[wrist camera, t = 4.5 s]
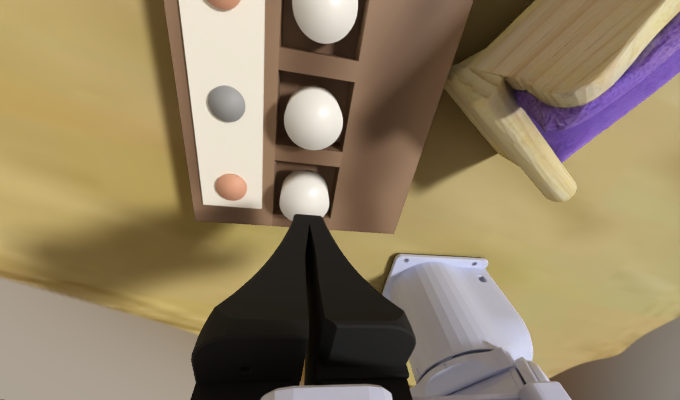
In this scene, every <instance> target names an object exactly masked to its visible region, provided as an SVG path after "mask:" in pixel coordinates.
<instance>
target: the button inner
mask: <svg viewBox="0 0 680 400" xmlns="http://www.w3.org/2000/svg"><path fill="white" fill-rule="evenodd" d="M279 205H280V209H281V211H282V213H283V214H284V216H285V217H287V218H288V219H289V220H291V221H293V217H294V215H295V214H304V215H316V216H322V217H323V216H324V215H325V214H326V213H327V211H328V208H329V196H328V188H327V184H326V181H325V180H324V178H323V177H322V176H321V175H320V174H318V173H316V172H314V171H311V170H297V171H294V172H292V173H291V174H289V175H288V176H287V177H286V178H285V180H284V182H283V184H282V189H281V195H280V202H279Z"/></svg>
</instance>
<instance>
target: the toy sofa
mask: <svg viewBox="0 0 680 400" xmlns="http://www.w3.org/2000/svg"><path fill="white" fill-rule="evenodd" d="M679 72H680V0H535V1H534V2H533V3H532V4H531V5H530V6H529V7H528V8H527V9H526V10H524V11H523V12H522V13H521V14H520V15H519V16H518V17H517V18H516V19H515V20H514V21H513V22H512V23H511V24H510V25H509V26H508V27H507V28H506V29H505V30H504V31H503V32H502V33H501V34H500V35H499V36H498V37H497V38H496V39H495V40H494V41H493V42H492V43H491V44H490V45H489V46H488V47H487V48H485V49H483V50H482V51H480V52H478V53H476V54H475V55H473V56H471V57H469V58H467V59H466V60H464V61H462V62H460V63H458V64H456V65H451V68H450V71H449V74H448V77H447V80H446V83H445V86H444V89H445V90H446V91H447V92H448V94H449V95H450V96H451V97H452V99H453V100H454V101H455V102H456V104H457V105H458V106H459V107H460V109H461V110H462V111H463V112H464V113H465V115H466V116H467V117H468V118H469V120H470V121H471V122H472V123H473V124H474V126H475V127H476V128H477V129H478V130H479V132H480V133H481V134H482V135H483V136H484V138H485V139H486V140H487V141H488V142H489V143H490V145H491V146H492V147H493V148H494V149H495V151H496V152H497V153H499V154H500V155H501V156H503V157H504V158H506V159H508V160H510V161H511V162H513V163H514V164H516V165H518V166H519V167H521V168H522V170H523V171H524V172H525V173H526V175H527V176H528V177H529V178H530V179H531V181H532V182H533V183H534V184H535V185H536V187H537V188H538V189H539V190H540V191H541V193H542V194H543V195H544V196H545V197H546V198H547V199H549V200H551V201H555V202H563V201H566V200H568V199H570V198H571V197H572V196H573V195H574V194H575V192H576V189H577V186H576V183H575V181H574V180H573V179H572V177H571V176H570V175H569V173H568V172H567V170H566V169H565V168H564V166H563V165H562V162H563V161H565V160H566V159H567V158H569V157H570V156H571V155H572V154H573V153H575V152H576V151H577V150H579V149H580V148H581V147H582V146H584V145H585V144H586V143H588V142H589V141H591V140H592V139H593V138H594V137H595V136H597V135H598V134H600V133H601V132H602V131H603V130H605V129H607V128H608V127H609V126H611V125H612V124H613V123H614V122H616V121H617V120H619V119H620V118H621V117H623V116H624V115H626V114H627V113H628V112H629V111H630V110H632V109H633V108H634V107H636V106H637V105H638V104H640V103H641V102H642V101H644V100H645V99H646V98H648V97H649V96H650V95H652V94H653V93H654V92H655V91H657V90H658V89H659V88H660V87H662V86H663V85H664V84H665V83H667V82H668V81H669V80H671V79H672V78H673V77H674V76H675V75H676V74H678V73H679Z"/></svg>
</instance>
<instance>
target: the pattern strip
mask: <svg viewBox="0 0 680 400" xmlns="http://www.w3.org/2000/svg"><path fill="white" fill-rule="evenodd" d="M179 7H180V15H181V23H182V32H183V40H184V48H185V57H186V65H187V73H188V82H189V90H190V98H191V107H192V115H193V123H194V132H195V140H196V148H197V156H198V165H199V173H200V181H201V190H202V198H203V205H215V206H228V207H242V208H255V209H262V176H263V109H264V42H265V0H179Z"/></svg>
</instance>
